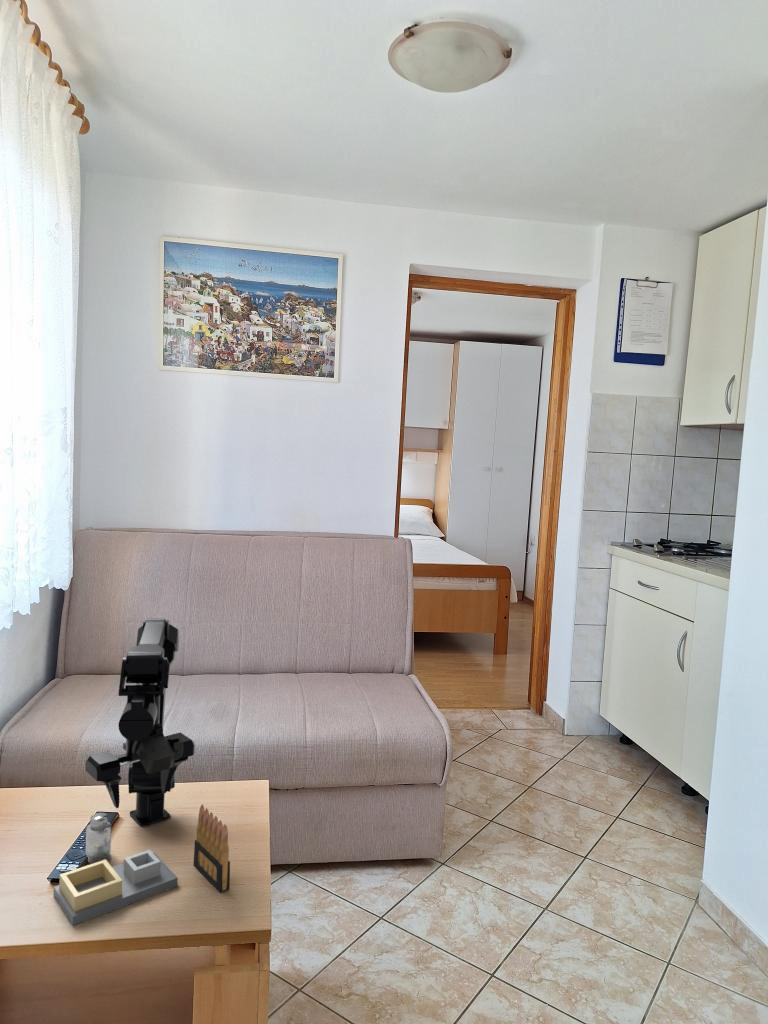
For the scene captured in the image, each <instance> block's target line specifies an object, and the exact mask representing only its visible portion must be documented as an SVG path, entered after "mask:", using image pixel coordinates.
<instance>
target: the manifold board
mask: <svg viewBox="0 0 768 1024" xmlns="http://www.w3.org/2000/svg"><path fill="white" fill-rule="evenodd" d="M178 879H179V878H178V877H177V875H175V873H174V872H173V870H171V869H170V868H169V867H168V866H167V864H166V863H165V862H164V861H163V860H162V859H161V857H159V856H158V855H157V854H156V853H155V852H153V851H152V850H151V849H147V850H145V851H141V852H138V853H136V854H133V855H129V856H126V857H123V862H122V863H120V864H116V865H113V866H111V864H110V863H109V861H108V860H106V859H105V860H102V861H99V862H96V863H93V864H87V865H84V866H82V867H79V868H76V869H73V870H69V871H66V872H64V873H60V874H59V883H58V885H55V886H53V897H54V898H55V900H56V902H57V903H58V904H59V906H60V908H61V910H62V911H63V913H64V915H65V916H66V917H67V919H68V921H69V922H70V924H71V925H72V926H75V925H77V924H81V923H82V922H83V923H84V922H86V921H89V920H91V919H93V918H96V917H99V916H102V915H104V914H106V913H109V912H112V911H115V910H118V909H121V908H123V907H126V906H128V905H130V904H133V903H136V902H138V901H141V900H143V899H147V898H150V897H152V896H154V895H156V894H159V893H162V892H164V891H168V890H170V889H173V888H176V887H178V883H179V881H178Z"/></svg>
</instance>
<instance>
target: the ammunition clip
mask: <svg viewBox="0 0 768 1024" xmlns="http://www.w3.org/2000/svg"><path fill="white" fill-rule="evenodd" d="M229 847H230V846H229V831H228V826H227V824H225V823H224V825H223V821H222V819H221V820H220V819H219V820H218V817H217V815H215V816H214V813H213V812H212V811H211V812H209V809H208V808H205V806H204V804H201V806H200V808H199V812H198V820H197V826H196V839H194V847H193V849H194V850H193V851H194V852H193V864H192V865H193V867H194V868H195V869H196V870H197V871H198V873H200V874H201V875H202V876H203V877H204V878H205V879H206V881H208V883H210V885H211V886H213V888H214V889H215V890H216V891H217V892H218V893H219V894H221V893H224V892H225V891H228V890H230V883H231V882H230V880H231V879H230V877H231V873H230V872H231V861H230V860H229V857H230V856H229V855H230V854H229V852H230V851H229V850H230V849H229Z"/></svg>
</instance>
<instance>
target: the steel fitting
mask: <svg viewBox="0 0 768 1024" xmlns="http://www.w3.org/2000/svg"><path fill="white" fill-rule="evenodd" d="M108 816H109V815H108V814H107V813H106V812H98V813H95V814H94V813H93V814H92V815H91V816H90V822H89V823H90V824H88V825H87V826H86V828H85V854H86V855H87V857H88V862H89V863H88V865H90V864H93V863H96V862H99V861H102V860H105V859H106V860H107V861H109V859H110V858H111V851H112V849H111V847H112V846H111V845H112V823H111V822H109V821H108Z"/></svg>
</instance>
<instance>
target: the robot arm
mask: <svg viewBox="0 0 768 1024" xmlns="http://www.w3.org/2000/svg"><path fill="white" fill-rule="evenodd" d="M136 634H137V637H136V644H135V646H133V647H130V648H129V650H128V651H127V653H126V657H123V658H122V661H121V667H120V668H121V669H120V678H119V685H118V697H127V699H126V700H127V701H126V703H125V706H124V709H123V711H122V713H121V716H120V718H119V721H118V730H119V733H120V735H121V736H122V737H123V738H124V739H126V740H125V742H123V743H122V749H123V751H125V753H122V754H119V755H114V754H113V753H112V752H110V750H107V751H102V752H99V753H95V754H91V755H90V754H89V756H88V758H87V759H86V760H85V771H86V773H88V775H89V776H91V777H92V778H93V779H94V781H96V782H101V783H103V784H104V785H105V787H106V790H107V792H108V794H109V797H110V799H111V801H112V804H113V806H114V808H115V809H118V808H120V799H121V798H120V782H121V780H122V777H121V776H120V775H119V774H120V773H121V767H123V766H128V765H129V767H128V773H127V774H128V775H127V776H128V777H127V779H128V780H127V782H128V794H136V795H135V796H136V798H135V809H133V810H131V811H129V815H130V816H131V817H132V819H133V820H134V821H135V822H136V823H137V824H138V825H139V826H141V827H144V826H147V825H150V824H153V823H157V822H160V821H163V820H166V819H169V818H171V814H170V812H168V811H167V809H165V796H166V795H165V794H166V793H167V792H169V793H171V790H172V789H175V787H176V786H175V783H176V774H175V773H176V771H177V768H178V767H179V766H180V765H181V764H182V763H184V762H186V761H188V760H189V757H192V756H194V755H195V751H196V750H195V749H196V748H195V746H196V744H195V742H194V741H193V740H192V739H191V738H189V737H188V736H187V735H185V734H184V733H182V732H175V733H173V734H168V735H164V722H165V720H164V719H165V709H166V707H165V703H166V689H169V679H170V670H171V666H172V665H173V663H174V661H175V660H176V659H175V658H176V652H177V653H178V652H179V647H180V645H179V644H180V635H179V629H178V628H177V627H175V626H174V625H172V624H170V619H166V618H147V619H143V623H142V626H140V627H139V628H138V629H137V633H136ZM125 684H126V685H125ZM127 684H129V685H127ZM130 684H131V685H130Z"/></svg>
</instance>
